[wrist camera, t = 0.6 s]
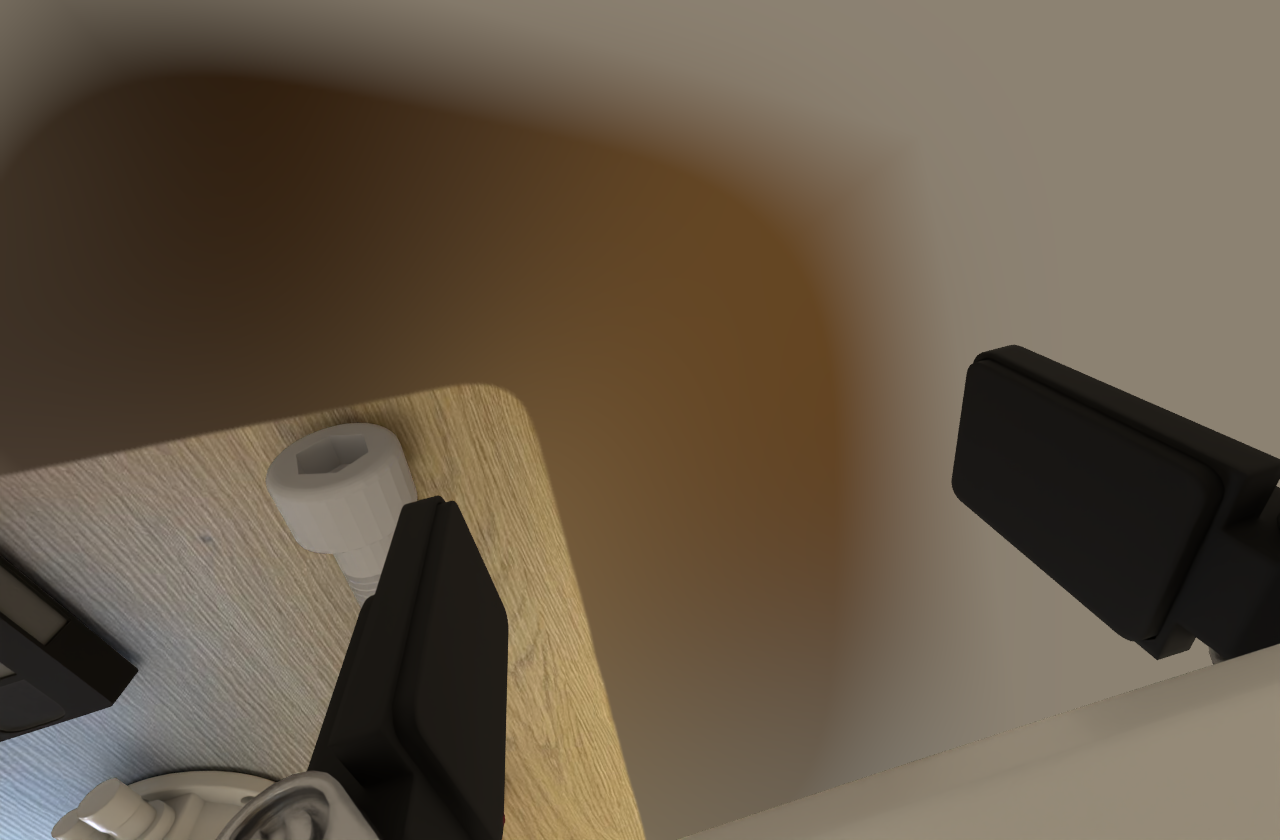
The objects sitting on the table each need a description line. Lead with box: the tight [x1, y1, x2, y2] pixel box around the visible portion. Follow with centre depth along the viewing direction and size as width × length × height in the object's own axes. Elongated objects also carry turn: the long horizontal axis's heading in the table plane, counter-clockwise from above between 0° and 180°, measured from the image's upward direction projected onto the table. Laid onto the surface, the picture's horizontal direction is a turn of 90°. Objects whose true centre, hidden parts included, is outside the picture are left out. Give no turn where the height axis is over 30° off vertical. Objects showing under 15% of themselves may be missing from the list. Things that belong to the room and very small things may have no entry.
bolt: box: [266, 423, 417, 608], centre depth 26 cm, size 16×5×5 cm, turn 2°
